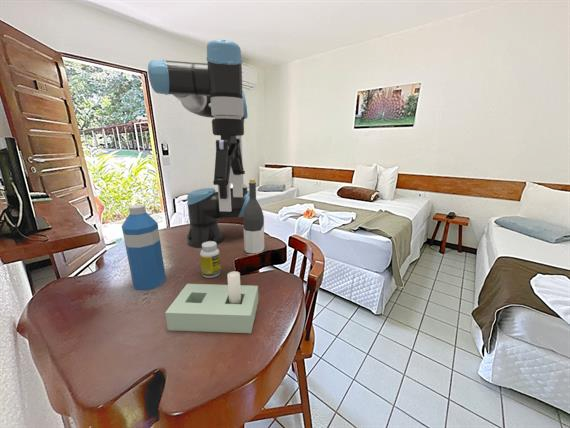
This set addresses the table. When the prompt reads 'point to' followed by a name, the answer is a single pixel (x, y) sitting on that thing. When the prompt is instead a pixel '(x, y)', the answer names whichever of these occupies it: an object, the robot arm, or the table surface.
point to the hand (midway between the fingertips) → (232, 203)
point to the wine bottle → (253, 223)
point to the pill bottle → (210, 259)
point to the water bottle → (143, 249)
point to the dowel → (234, 287)
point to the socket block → (212, 309)
